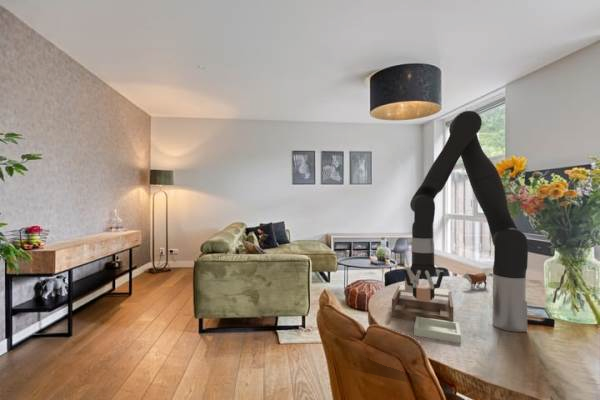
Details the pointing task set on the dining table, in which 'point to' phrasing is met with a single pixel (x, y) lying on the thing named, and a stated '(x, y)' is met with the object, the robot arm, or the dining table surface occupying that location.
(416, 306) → the brown wooden box
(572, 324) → the dining table surface
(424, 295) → the terracotta block
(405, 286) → the cover
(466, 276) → the bull figurine
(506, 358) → the dining table surface
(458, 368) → the dining table surface
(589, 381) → the dining table surface
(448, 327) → the sage tray
